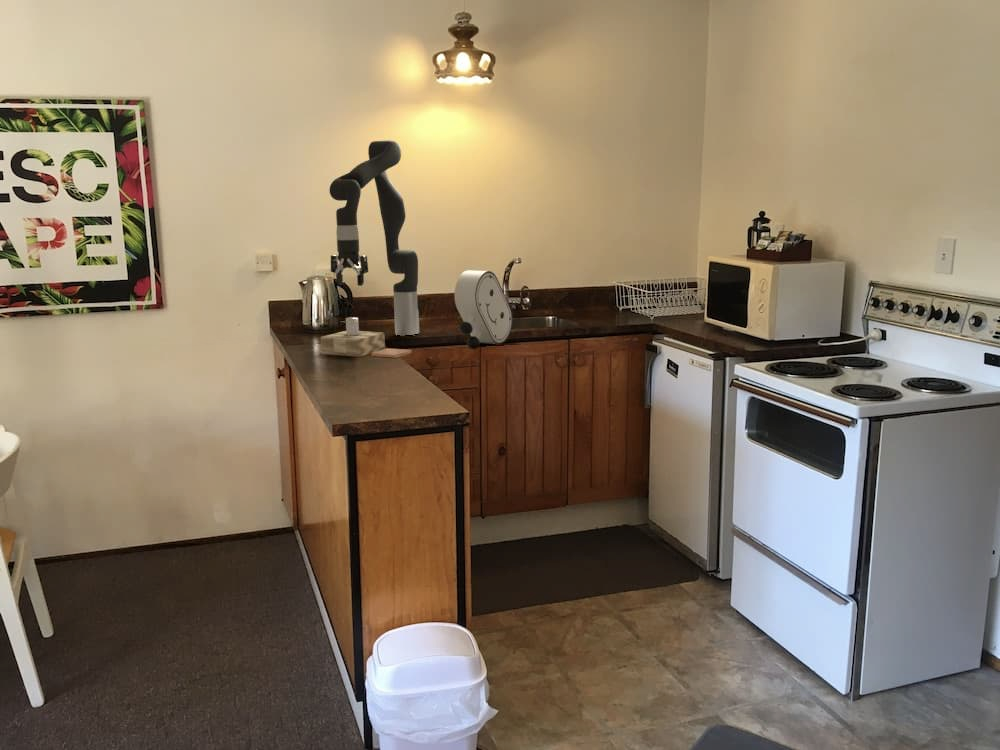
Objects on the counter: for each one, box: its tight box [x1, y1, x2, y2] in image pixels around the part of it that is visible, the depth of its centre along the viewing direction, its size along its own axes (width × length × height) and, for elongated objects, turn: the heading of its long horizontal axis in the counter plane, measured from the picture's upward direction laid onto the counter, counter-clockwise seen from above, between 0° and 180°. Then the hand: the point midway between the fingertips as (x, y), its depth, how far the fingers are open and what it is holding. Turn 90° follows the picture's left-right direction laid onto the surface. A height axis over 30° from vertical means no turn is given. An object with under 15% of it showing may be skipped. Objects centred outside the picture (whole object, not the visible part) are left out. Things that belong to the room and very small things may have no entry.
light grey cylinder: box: [345, 316, 360, 336], centre depth 307 cm, size 4×4×11 cm
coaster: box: [370, 347, 412, 359], centre depth 302 cm, size 10×10×1 cm
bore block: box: [320, 330, 386, 358], centre depth 308 cm, size 16×16×6 cm
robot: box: [454, 269, 513, 350], centre depth 312 cm, size 30×9×24 cm
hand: (350, 285), depth 304 cm, fingers open, 8 cm apart
